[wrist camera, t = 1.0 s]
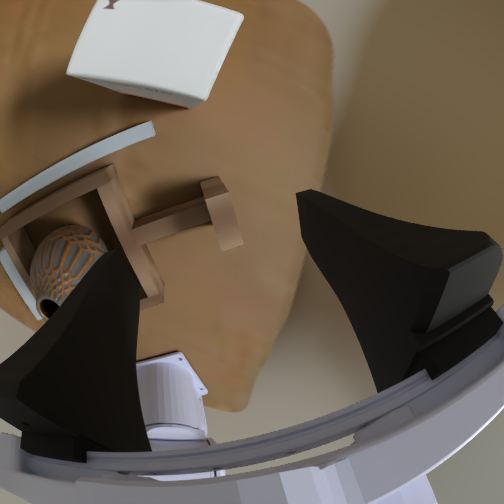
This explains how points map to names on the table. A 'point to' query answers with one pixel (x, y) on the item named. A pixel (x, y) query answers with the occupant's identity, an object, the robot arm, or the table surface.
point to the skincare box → (155, 48)
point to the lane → (55, 173)
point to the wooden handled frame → (128, 226)
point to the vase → (62, 265)
